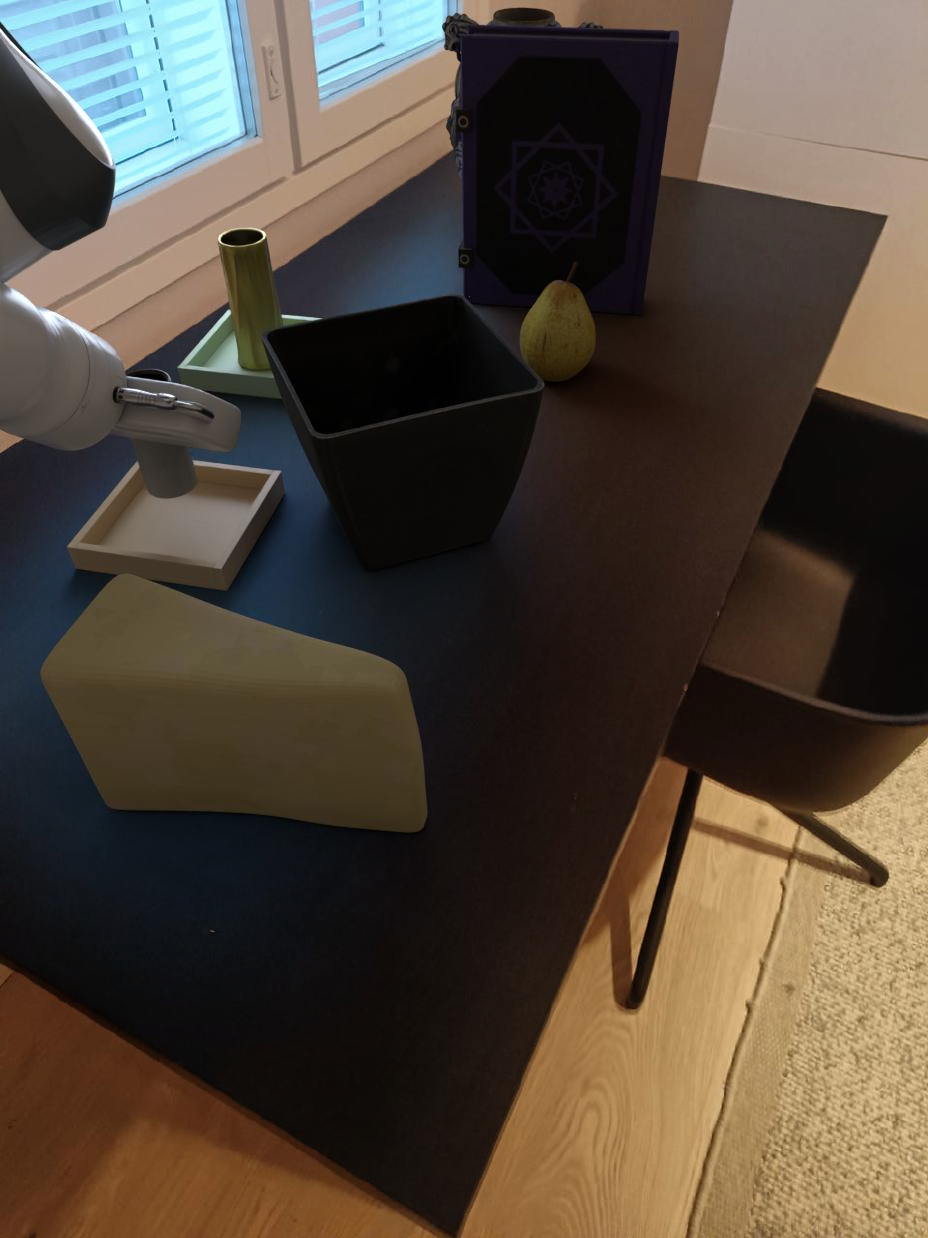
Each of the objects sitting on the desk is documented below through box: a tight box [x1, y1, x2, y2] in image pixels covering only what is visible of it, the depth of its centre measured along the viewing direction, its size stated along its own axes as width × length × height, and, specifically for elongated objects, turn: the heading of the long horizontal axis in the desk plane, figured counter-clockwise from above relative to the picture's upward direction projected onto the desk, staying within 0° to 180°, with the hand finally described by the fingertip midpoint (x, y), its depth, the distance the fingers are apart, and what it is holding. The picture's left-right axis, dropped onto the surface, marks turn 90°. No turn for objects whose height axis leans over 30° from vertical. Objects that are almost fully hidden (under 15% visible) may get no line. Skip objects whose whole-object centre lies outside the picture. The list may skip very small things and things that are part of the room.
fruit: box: [519, 262, 597, 383], centre depth 100 cm, size 9×9×12 cm
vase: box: [217, 227, 284, 370], centre depth 101 cm, size 6×6×14 cm
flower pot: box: [261, 293, 545, 571], centre depth 79 cm, size 19×19×17 cm
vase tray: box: [176, 309, 323, 400], centre depth 106 cm, size 15×15×3 cm
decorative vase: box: [441, 7, 604, 184], centre depth 122 cm, size 21×19×28 cm
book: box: [456, 24, 680, 316], centre depth 107 cm, size 24×6×30 cm, turn 80°
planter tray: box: [66, 459, 286, 592], centre depth 83 cm, size 15×15×3 cm
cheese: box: [40, 574, 428, 833], centre depth 58 cm, size 22×10×15 cm, turn 74°
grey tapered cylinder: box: [126, 368, 197, 499], centre depth 77 cm, size 4×4×10 cm
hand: (160, 429), depth 77 cm, fingers closed on grey tapered cylinder, 4 cm apart
